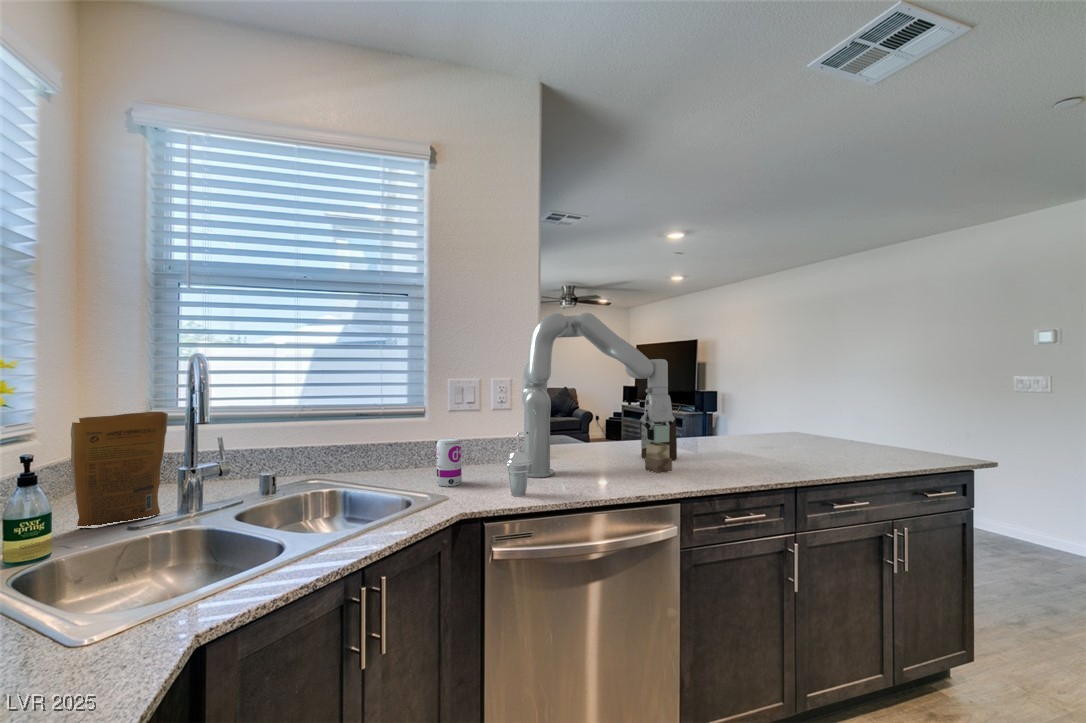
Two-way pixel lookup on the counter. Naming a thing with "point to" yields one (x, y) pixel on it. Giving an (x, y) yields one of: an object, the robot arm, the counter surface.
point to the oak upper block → (657, 451)
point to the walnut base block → (658, 465)
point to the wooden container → (671, 443)
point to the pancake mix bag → (117, 466)
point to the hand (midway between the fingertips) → (657, 438)
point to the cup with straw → (518, 470)
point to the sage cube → (660, 433)
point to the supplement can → (449, 462)
